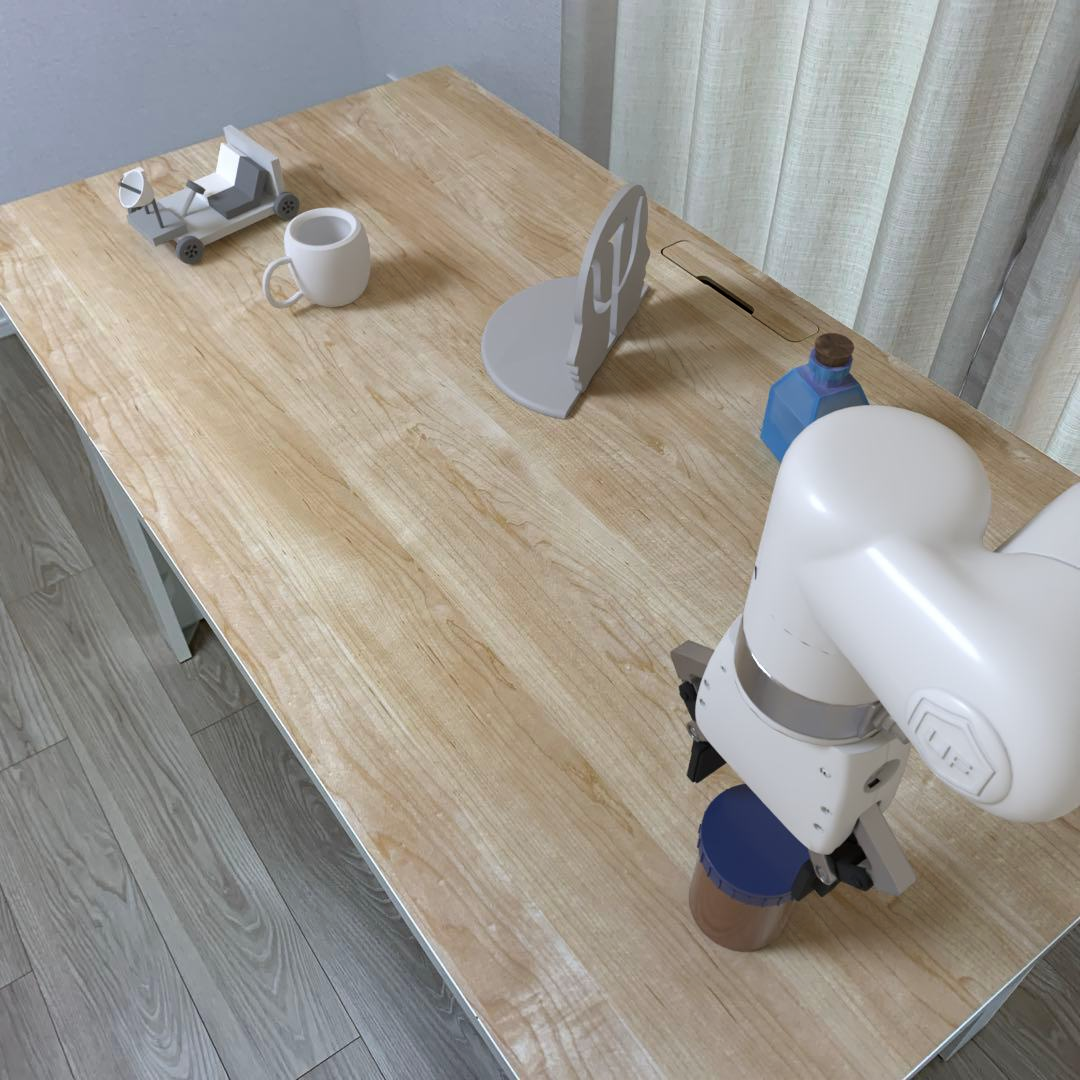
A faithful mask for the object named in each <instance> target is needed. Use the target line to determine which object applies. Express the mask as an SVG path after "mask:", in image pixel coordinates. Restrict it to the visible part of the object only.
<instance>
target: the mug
mask: <svg viewBox="0 0 1080 1080" xmlns="http://www.w3.org/2000/svg"><path fill="white" fill-rule="evenodd" d="M290 220H291V221H290V222H289V223H288V224H287V226H286V227H285V232H284V236H283V247H284V253H285V256H282V257H280V258H279V257H278V258H276V259H275V260H273V261H271V262H270V263H269V264H268V265H267V267H266V269H265V270H264V272H263V277H262V283H261V286H262V293H263V296H264V298H265V300H266V302H267V304H269V305H270V306H271V307H273V308H275V309H287V308H290V307H292V306H294V305H295V304H297V303H298V302H299V301H300V300H301V299H302V298H303V297H305V298H306V299H307V300H309V301H310V302H312V303H313V304H315V305H317V306H320V307H323V308H339V307H344V306H348V305H349V304H352V303H354V302H355V301H357V300H358V299H359V298H360V297H361V296H362V294H364V292H365V290H366V288H367V286H368V284H369V280H370V274H371V269H372V268H371V267H372V266H371V265H372V261H371V260H372V259H371V247H370V242H369V238H368V235H367V231H366V229H365V226H364V224H363V222H362V221H361V219H360V218H359V217H358V216H357V215H356V214H355V213H354V212H351V211H349V210H347V209H344V208H339V207H319V208H313V209H309V210H306V211H303V212H302V213H299V214H298V215H297V216H296V215H295V216H294V217H293V218H292V219H290ZM284 265H287V268H288V270H289V272H290V275H291V277H292V279H293V281H294V283H295V285H296V287H297V289H298V291H296V292H295V293H294V294H293V295H292V296H291V297H290V298H288V299H286V300H283V301H282V300H281V301H278V300H276V299H275V298H274V297H273V294H272V293H271V289H270V284H271V282H270V281H271V277H272V275H273V273H274V271H276V270H277V269H278V268H279V267H280V266H284Z"/></svg>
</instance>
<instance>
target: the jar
mask: <svg viewBox="0 0 1080 1080" xmlns="http://www.w3.org/2000/svg"><path fill="white" fill-rule="evenodd" d="M694 865H695V866H694V869H693V872H692V873H693V874H692V877H691V882H690V886H689V892H688V903H689V908H690V912H691V916H692V918H693V920H694V922H695V924H696V925H697V927H698V928H699V930H700V931H701V932H702V934H704V936H705V937H707V938H708V939H709V940H710V941H712V942H713V943H715V944H716V945H718V946H720V947H722V948H723V949H727V950H731V951H733V952H734V951H735V952H742V953H743V952H754V951H757V950H761V949H763V948H766V947H767V946H769V945H771V944H772V943H774V942H775V941H776V940H777V939H778V938H779V936H780V935H781V934H782V933H783V931H784V929H785V927H786V925H787V922H788V920H789V918H790V916H791V914H792V912H793V910H794V907H795V906H796V903H797V901H796V900H795V899H794V900H793V901H792V900H790V901H788V902H786V903H783V904H780V906H777V905H775V906H765V907H764V908H762V907H761V906H753V905H746V904H745V903H742V902H739V901H737V900H735V899H733V898H732V899H730V896H728V895H727V894H725V893H724V892H723V891H721V890H720V889H717V886H716V885H715V884H714V883H713V882H712V880H711V879H710V878H709V877H707V876H706V875H707V873H706V871H705V870H704V868H703V865H702V863H700V856H699V852H698V854H697V857H696V861H695V864H694Z"/></svg>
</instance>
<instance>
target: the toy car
mask: <svg viewBox="0 0 1080 1080" xmlns="http://www.w3.org/2000/svg"><path fill="white" fill-rule="evenodd" d="M222 130H223V134H224V137H225V140H226V142H220V146H219V152H218V158H217V163H216V168H215V171H214V172H212V173H210V174H208V175H204V176H203V177H201V178H200V177H199V178H198V179H196V180H193V181H192V180H190V179H188V180H187V181H186V184H185V186H186V187H185V188H183V189H180V190H178V191H175V192H174V193H171V194H168V195H166V196H163V197H161V198H159V199H157V200H156V199H155V192H154V189H153V187H152V185H151V183H150V182H149V181H148V176H147V173H146V170H145V169H144V168H142V167H141V166H138V167H136V168H133V169H131V170H129V171H125V172H123V174H122V175H123V177H122V178H120V179H119V182H118V183H117V184H118V186H119V190H118V198H119V202H120V204H121V206H122V207H123V208H126V209H127V213H128V214H126V215H125V217H126V220H127V222H128V225H130V226H131V227H132V228H133V229H134V230H136V231H137V232H138V233H139V234H140V235H141V236H142V237H144V238H145V239H146V240H147V241H148V242H149V243H150V244H151V245H153V246H154V247H158V246H160V245H163V244H165V243H167V242H170V241H172V240H173V241H174V242H175V243H176V245H175V255H176V257H177V258H178V260H180V261H181V263H184V264H186V265H194V264H197V263H198V262H199V261H200V260H201V259H202V258H203V257H204V253H205V246H207V245H209V244H211V243H214V242H216V241H218V240H220V239H222V238H224V237H227V236H229V235H231V234H233V233H235V232H238V231H240V230H242V229H244V228H246V227H248V226H250V225H253V224H255V223H257V222H259V221H262V220H264V219H266V218H268V217H270V216H273V215H276V216H277V217H279V218H280V219H282V220H285V221H287V220H292V219H294V218H295V217H296V215H297V214H298V213H299V211H300V207H301V203H300V200H299V198H298V196H297V195H295V194H294V193H293V192H290V191H287V190H286V185H285V179H284V175H283V172H282V167H281V162H280V158H279V157H278V156H276V155H275V154H274V153H272V152H271V151H270V150H268V149H267V148H265V147H264V146H262V145H261V144H259V143H258V142H257V141H255V140H253V139H252V138H251V137H249V136H248V135H246V134H245V133H243V132H242V131H241V130H239V129H238V128H237V127H235V126H234V125H232V124H228V125H225V126H224V127H222Z"/></svg>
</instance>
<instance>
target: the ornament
mask: <svg viewBox="0 0 1080 1080" xmlns="http://www.w3.org/2000/svg"><path fill="white" fill-rule="evenodd" d="M648 205H649V204H648V196H647V192H646V190H645V187H643V186H642V185H641V184H638V183H634V182H629V183H626V184H624V185H623V186H622V187H621V188H619V190H618V191H617V192H616V193H615V194H614V195H613V196H612V198H611V199H610V200H609V202H608V203H607V205H606V207H605V208H604V209H603V211H602V212H601V214H600V215H599V217H598V219H597V222H596V223H595V225H594V228H593V230H592V232H591V234H590V236H589V239H588V242H587V245H586V248H585V251H584V254H583V258H582V261H581V265H580V268H579V273H578V274H577V275H569V276H562V277H557V278H552V279H549V280H545V281H542V282H539V283H536V284H533V285H531V286H528V287H526V288H524V289H522V290H520V291H518V292H517V293H515V294H514V295H512V296H511V297H509V298H507V299H506V300H505V301H504V302H502V304H501V305H500V306H498V308H496V310H495V311H493V313H492V315H491V316H490V318H489V319H488V320H487V323H486V324H485V327H484V328H483V332H482V334H481V339H480V356H481V361H482V365H483V367H484V369H485V372H486V373H487V375H488V377H489V379H490V380H491V382H493V384H494V385H495V386H496V387H497V388H498V389H499V390H500V391H501V392H502V393H503V394H505V395H506V396H507V397H508V398H510V399H511V400H512V401H514V402H516V403H518V404H519V405H521V406H523V407H525V408H527V409H529V410H530V411H531V410H532V411H534V412H536V413H539V414H542V415H545V416H549V417H552V418H555V419H561V420H566V418H567V417H568V415H569V414H570V412H571V411H572V409H573V407H574V406H575V405H576V403H577V402H578V400H579V399H580V397H581V395H582V394H583V393H584V392H585V391H586V390H587V388H588V386H589V384H590V382H591V380H592V378H593V377H594V375H595V374H596V373H597V371H598V370H599V368H600V367H601V366H602V364H603V363H604V360H605V359H606V357H607V356H608V354H609V352H610V351H611V349H612V347H614V344H615V343H616V341H618V338H619V337H620V336H622V334H623V333H624V331H625V329H626V327H627V325H628V324H629V322H630V321H631V319H632V318H633V317H634V316H635V315H636V314H637V312H638V310H639V308H640V305H641V303H642V302H643V300H644V298H645V297H646V295H647V294H648V292H649V291H650V288H651V287H650V285H647V284H645V278H646V274H647V270H646V267H647V265H648V262H649V260H650V257H651V250H650V248H649V245H648V240H647V231H648V225H649V206H648ZM612 238H613V241H612V242H611V241H610V240H611V239H612Z"/></svg>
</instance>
